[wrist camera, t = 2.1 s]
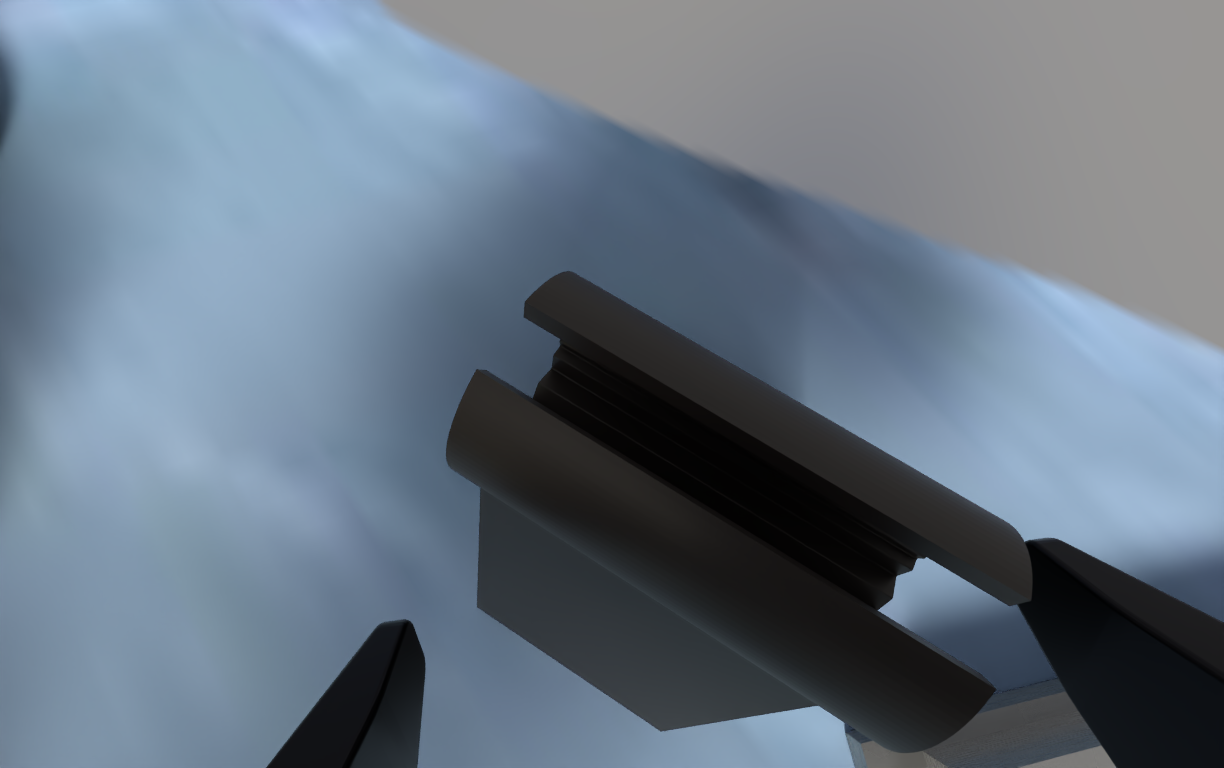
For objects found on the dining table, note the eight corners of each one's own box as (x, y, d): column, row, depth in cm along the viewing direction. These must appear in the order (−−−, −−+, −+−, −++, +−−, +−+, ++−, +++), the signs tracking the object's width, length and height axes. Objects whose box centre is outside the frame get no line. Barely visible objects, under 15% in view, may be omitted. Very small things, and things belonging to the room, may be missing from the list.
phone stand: (641, 352, 19) (704, 50, 7) (807, 451, 18) (1161, 283, 7) (478, 604, 17) (213, 726, 5) (658, 727, 16) (802, 1180, 5)
